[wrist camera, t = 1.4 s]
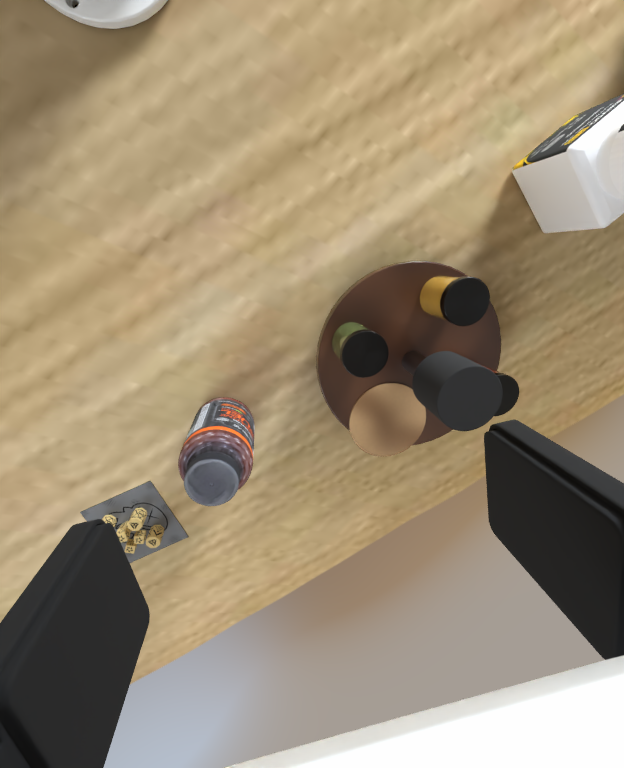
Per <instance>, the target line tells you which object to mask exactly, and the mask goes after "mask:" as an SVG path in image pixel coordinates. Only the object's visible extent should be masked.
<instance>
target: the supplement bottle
mask: <svg viewBox="0 0 624 768" xmlns="http://www.w3.org/2000/svg"><path fill="white" fill-rule="evenodd" d="M253 451H254V419H253V416H252V414H251V412H250V410H249V409H248V408H247V407H246V406H245V405H244V404H243V403H242V402H240V401H238V400H235V399H232V398H216V399H213V400H211V401H209V402H207V403H206V404H204V405H203V406H202V407H201V408H200V409H199V411H198V413H197V414H196V416H195V419H194V421H193V424H192V426H191V428H190V431H189V433H188V436H187V438H186V440H185V443H184V445H183V448H182V450H181V453H180V456H179V462H178V466H179V472H180V475H181V478H182V479H183V481H184V486H185V490H186V492H187V494H188V495H189V497H190V498H191V499H192V500H193V501H195V502H197V503H199V504H202V505H205V506H217V505H221V504H224V503H226V502H228V501H229V500H230V499H231V498H232V497H233V496H234V495H235V494H236V492H237V490H238V489H240V488H241V487H242V486H243V485H244V484H245V483H246V481H247V480H248V478H249V476H250V474H251V470H252V466H253Z"/></svg>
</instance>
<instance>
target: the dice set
mask: <svg viewBox="0 0 624 768" xmlns="http://www.w3.org/2000/svg"><path fill="white" fill-rule="evenodd" d="M147 517H148V513H147V511H146V510H145V509H143V508H142V507H141V508H135V509H134V510H133V511H132V512H131V515H130V517H129V519H128V521H125V522H124V523H123V524H121V525H120V526H119V527H118V529H117V530H116V533H117V535H118V538H119V540H120V542H121V543H125V542H126V544H125V547H124V552H125V554H132V555H134V554H135V552H136V550H137V546H138V545H144V544H145V545H146V546H147V547H148V548H149V549H156V548H158V547H159V546H160V545H161V543H162V540H163V537H164V534H165V528H164V527H162V526H161V525H160V524H158V525H156V524H154V525H153V526H152V527H151V528H150V529H149V531H148V534H147V531H146V530H141V529H142V528H143V526H144V524H145V521H146V519H147ZM101 519H102V520H103V521H104V522H105V523H111V524H112V525H113V527H115V526H116V524H117V520H116V517H115V516H113V515H111V514H110V515H104V516H103V517H102V518H101ZM132 532H135V533H134V535H133V539H130V536H131V533H132Z"/></svg>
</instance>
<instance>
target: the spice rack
mask: <svg viewBox="0 0 624 768" xmlns="http://www.w3.org/2000/svg"><path fill="white" fill-rule="evenodd" d="M500 353H501V335H500V327H499V323H498V318H497V315H496V313H495V310H494V308H493V305H492V304H491V302H490V295H489V290H488V288H487V286H486V285H485V284H484V282H482V281H481V280H480V279H478V278H474V277H468V276H467V275H465V274H464V273H462V272H461V271H458V270H456V269H454V268H452V267H450V266H446V265H443V264H440V263H434V262H427V261H408V262H401V263H395V264H392V265H388V266H385V267H382V268H380V269H378V270H376V271H373V272H371V273H370V274H368V275H366V276H365V277H363V278H361V279H360V280H359V281H357V282H356V283H355V284H354V285H352V286H351V287H350V288H349V289H348V290H347V291H346V292H345V293H344V294H343V295H342V296H341V297H340V299H339V300H338V301H337V303H336V304H335V305H334V307H333V308H332V310H331V312H330V313H329V315H328V317H327V319H326V321H325V323H324V326H323V328H322V331H321V334H320V338H319V342H318V348H317V355H316V368H317V376H318V381H319V385H320V388H321V391H322V394H323V396H324V398H325V400H326V403H327V405H328V406H329V408H330V409H331V411H332V413H333V414H334V415H335V417H336V418H337V419H338V420H339V421H340V422H341V423H342V424H343V425H344V426H345V427H346V428H347V429H348V430H350V433H351V436H352V438H353V440H354V442H355V443H356V444H357V446H358V447H359V448H361V449H362V450H363V451H365V452H367V453H369V454H371V455H375V456H391V455H395V454H398V453H401V452H403V451H404V450H406V449H408V448H409V447H410V446H412V445H417V444H422V443H425V442H428V441H431V440H434V439H436V438H438V437H441V436H443V435H445V434H446V433H448V432H450V431H451V430H453V429H454V430H458V431H469V430H474V429H477V428H479V427H481V426H483V425H484V424H486V423H487V422H488V421H489V420H490V419H491V418H492V417H493V416H499V415H502V414H505V413H506V412H508V411H509V410H510V409H512V407H513V406H514V405H515V403H516V402H517V399H518V396H519V387H518V384H517V382H516V381H515V379H513V378H512V377H511V376H508V375H506V374H504V373H499V372H497V368H498V365H499V359H500Z"/></svg>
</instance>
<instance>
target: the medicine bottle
mask: <svg viewBox="0 0 624 768" xmlns="http://www.w3.org/2000/svg"><path fill="white" fill-rule="evenodd" d="M512 173H513V175H514V177H515V179H516V181H517V183H518V185H519V187H520V189H521V190H522V192H523V194H524V196H525V198H526V200H527V202H528V204H529V206H530V208H531V210H532V212H533V214H534V216H535V218H536V220H537V222H538V224H539V226H540V228H541V230H542V231H543V232H544V233H554V232H565V231H577V230H589V229H600V228H605V227H607V226H608V225H610V224H611V223H612V222H613V221H615V220H616V219H617V218H618V217H620V216H621V215H622V214H623V213H624V94H622V95H620V96H618V97H615V98H613V99H611V100H609V101H606V102H604V103H602V104H600V105H597V106H595V107H593V108H591V109H589V110H586V111H584V112H582V113H580V114H577V115H575V116H573V117H572V118H571V119H570V120H569V121H567V122H566V123H565V124H564V125H563V126H562V127H560V128H559V129H558V130H557V131H556V132H554V133H553V134H552V135H551V136H550V137H548V138H547V139H546V140H545V141H544V142H542V143H541V144H540V145H539V146H538V147H537V148H535V149H534V150H533V151H532V152H531V153H529V154H528V155H527V156H526V157H525V158H523V159H522V160H521V161H520V162H519V163H517V164H516V165H515V166H514V167H513V168H512Z"/></svg>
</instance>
